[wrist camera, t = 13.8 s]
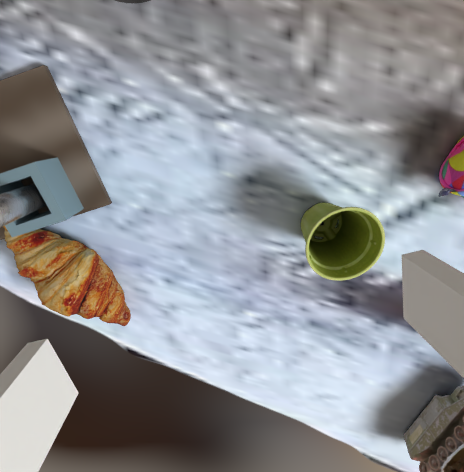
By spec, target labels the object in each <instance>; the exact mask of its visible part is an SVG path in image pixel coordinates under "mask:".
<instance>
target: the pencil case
mask: <svg viewBox="0 0 464 472" xmlns="http://www.w3.org/2000/svg"><path fill="white" fill-rule="evenodd" d="M439 180H440V183H441V185H442V187H443V188H444V189H442V190H441V191H440V193H439V197H440V196H444V195H448V194H449V193H452V194H455V195H459V196H462V197H464V136H463V137H462V138H461V139H460V140H459V141H458V142H457V144H456V145H455V146H454V148H453V149H452V151H451V152H450V153H449V155H448V156H447V158H446V159H445V161H444V162H443V164H442V166H441V168H440V172H439Z"/></svg>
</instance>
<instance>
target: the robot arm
mask: <svg viewBox="0 0 464 472" xmlns="http://www.w3.org/2000/svg"><path fill="white" fill-rule="evenodd" d="M115 1H119V2H124V3H142V2H147V1H150V0H115ZM402 280H403V312H404V319H405V320H406V321H407V322H408V323H409V324H410V325H411V326H412V327H413V328H414V329H415V330H416V331H417V332H418V333H419V334H420V335H421V336H422V337H423V338H424V339H425V340H426V341H427V342H428V343H429V344H430V345H431V346H432V347H433V348H434V349H435V350H436V351H437V352H438V353H439V354H440V355H441V356H442V357H443V358H444V359H445V360H446V361H447V362H448V363H449V364H450V365H451V366H452V367H453V368H454V369H455V370H456V371H457V372H458V373H459V374H460V375H461V376H462V377H463V378H464V273H462V272H460V271H459V270H457V269H455V268H453V267H452V266H450V265H448V264H447V263H445V262H443V261H441V260H440V259H438V258H436V257H435V256H433V255H431V254H429V253H428V252H426V251H424V250H420V251H416V252H412V253H408V254H403V255H402ZM77 395H78V391H77V389H76V388H75V386H74V384H73V382H72V381H71V379H70V377H69V375H68V374H67V372H66V370H65V369H64V367H63V365H62V363H61V362H60V360H59V358H58V356H57V355H56V353H55V351H54V349H53V347H52V346H51V344H50V343H49V340H48V339H44V340H40V341H35V342H31V343H27V345H26V346H25V347H24V348H23V349H22V350H21V352H20V353H19V354H18V355H17V356H16V357H15V358H14V360H13V361H12V362H11V363H10V364H9V365H8V366H7V368H6V369H5V370H4V371H3V372H2V373H1V375H0V472H38V471H39V469H40V467H41V465H42V463H43V461H44V459H45V457H46V456H47V454H48V452H49V450H50V448H51V445H52V444H53V442H54V440H55V438H56V436H57V434H58V432H59V430H60V428H61V426H62V424H63V422H64V420H65V418H66V416H67V414H68V413H69V411H70V409H71V407H72V405H73V403H74V401H75V399H76V397H77Z"/></svg>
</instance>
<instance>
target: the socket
mask: <svg viewBox="0 0 464 472" xmlns="http://www.w3.org/2000/svg"><path fill="white" fill-rule="evenodd" d="M30 177H31V178H32V179H33V181H34V183H35V185H36V187H37V188H38V190H39V192H40V194H41V195H42V197H43V199H44V201H45V203H46V204H47V206H48V208H49V211H46V212H43V213H40V214H39V212H38V210H36V211H34V212H32V213H30V214H28V215H26V216H24V217H22V218H20V219H18V220H15V221H13V222H11V223H9V224H7V225H5V227H6V229H7V230H8V232H9V233H10V235H11V237H15V236H19V235H22V234H25V233H28V232H31V231H34V230H37V229H40V228H43V227H46V226H49V225H53V224H56V223H59V222H62V221H65V220H67V219H69V218H70V217H72V216H73V215H75V214H77V213H78V212H80V211H81V210H83V209H84V208H83V206H82V204H81V202H80V200H79V198H78V196H77V194H76V192H75V190H74V188H73V186H72V184H71V182H70V181H69V179H68V177H67V175H66V173H65V171H64V169H63V167H62V165H61V163H60V161H59V159H58V157H56V158H52V159H47V160H42V161H37V162H33V163H30V164H27V165H24V166H21V167H18V168H15V169H12V170H9V171H6V172H3V173H1V174H0V194H1V193H5V192H8V191H11V190H14V189H17V188H20V187H24V186H23V184H22V182H21V180H24V179H27V178H30Z"/></svg>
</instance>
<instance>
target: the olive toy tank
mask: <svg viewBox="0 0 464 472" xmlns="http://www.w3.org/2000/svg"><path fill="white" fill-rule="evenodd" d="M404 438H405V442H406V445H407V449H408V453H409V455H410V458H411V459H412V460H416V461H420V465H419V470H420V472H464V386H462V387H461V386H458V387H457V388H456V389H455V390H454V391H453V393H452V394H451V395H445V396H440V395H435V396H434V398H433V399H432V400H431V401H430V403H429V404H428V406H427V407H426V408H425V409H424V410H423V411H422V413H420V416H419V417H418V418H417V419H416V420H415V422H414V423H413V424H412V425H411V427H410V428H409V429H408V430H407V431H406V433H405V434H404Z"/></svg>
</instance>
